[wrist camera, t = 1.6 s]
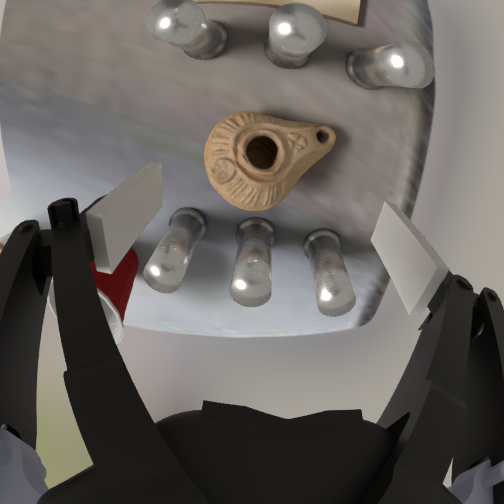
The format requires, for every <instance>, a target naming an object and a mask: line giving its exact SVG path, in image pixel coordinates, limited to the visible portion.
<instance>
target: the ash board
mask: <svg viewBox="0 0 504 504" xmlns="http://www.w3.org/2000/svg"><path fill="white" fill-rule="evenodd" d="M193 1H194V2H195V3H230V4H246V5H257V6H266V7H274V8H279V7H281V6H283V5H285V4H289V3H302V4H306V5H309V6H311V7H313V8H315V9H317V10H318V11H319V12H320V13H321V14H322V15H323V16H324V17H325V18H329V19H332V20H336V21H339V22H343V23H346V24H349V25H353V26H355V25H357V22H358V15H359V7H360V0H193Z"/></svg>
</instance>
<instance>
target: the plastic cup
mask: <svg viewBox="0 0 504 504" xmlns="http://www.w3.org/2000/svg"><path fill="white" fill-rule="evenodd" d="M90 266H91V270H92V273H93V277H94V281H95V284H96V287H97V291H98V294H99V297H100V300H101V304H102V307H103V310H104V313H105V316H106V318H107V321H108V324H109V327H110V330H111V332H112V335H113V337H114V340H115V343H116V345H117V344H118V343H120V342H121V341H122V336H123V330H124V325H123V320H124V314H125V310H126V307H127V303H128V300H129V297H130V293H131V290H132V287H133V282H134V279H135V276H136V273H137V268H138V258H137V255H136V253H135V252H134V250H133V249H132V248H131V247H130V249H129V250H128V252H127V253H126V254H125V256H124V257H123V258H122V260H121V261H120V263H119V264H118V266H117V267H116V268H115V270H114V271H113V273H112V274H109V273H104V272H100V271H97V269H96V265H95V261H93V262H92V263H91V264H90ZM47 301H48V303H49V306H50V308H51V310H52V312H53V314H54V316H55V317H56V318H57V313H56V305H55V297H54V287H53V278H52V280H51V284H50V289H49V293H48V298H47Z"/></svg>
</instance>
